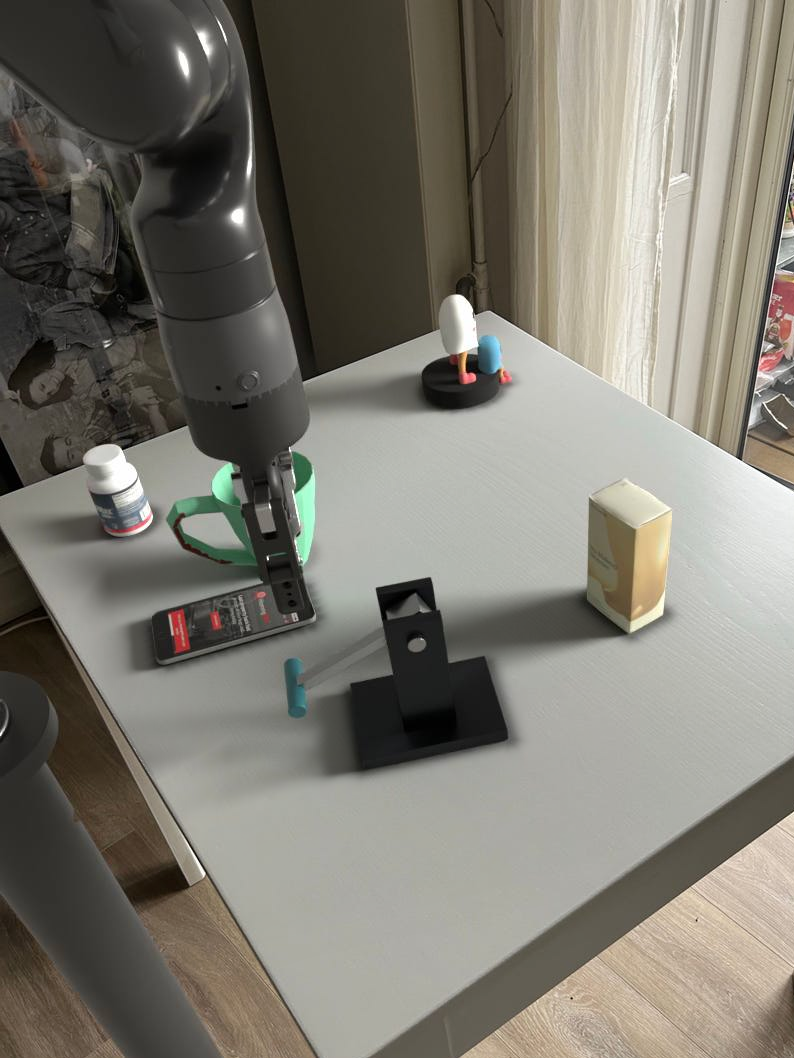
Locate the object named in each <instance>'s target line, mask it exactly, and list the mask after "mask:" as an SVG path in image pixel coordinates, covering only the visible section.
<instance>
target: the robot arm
mask: <svg viewBox="0 0 794 1058" xmlns="http://www.w3.org/2000/svg"><path fill="white" fill-rule="evenodd" d="M0 72H2V73H4V75H6V76H7V77H9V79H11V80H12V81H13V83H15V84H17V85H18V86H19V87H20V88H21V89H23V90H24V91H25V92H26V93H27V94H28V95H29V96H30V97H32V98H33V99H34V100H35V101H36V102H37V103H39V104H40V105H41V106H42V107H43V108H45V109H46V110H47V111H48V112H49V113H50V114H52V115H53V116H55V118H57V119H59V121H61V122H62V123H63V124H65V125H67V126H68V127H69V128H71V129H73V131H76V132H77V133H79V134H80V135H83V136H84V137H86V138H88V139H89V140H92V141H94V142H96V143H98V144H100V145H102V146H105V147H108V148H111V149H114V150H115V151H116V150H117V151H120V152H124V153H127V154H133V155H139V157H140V164H141V180H140V184H139V187H138V190H137V192H136V195H135V196H134V199H133V201H132V204H131V208H130V214H129V221H130V222H129V223H130V229H131V234H132V240H133V243H134V248H135V251H136V254H137V257H138V261H139V265H140V266H141V267H140V268H141V270H142V274H143V277H144V279H145V282H146V286H147V288H148V292H149V295H150V298H151V301H152V304H153V306H154V307H153V308H154V311H155V315H156V320H157V321H156V322H157V326H158V333H159V337H160V343H161V347H162V350H163V353H164V356H165V359H166V362H167V363H166V364H167V366H168V370H169V373H170V375H171V378H172V381H173V384H174V388H175V391H176V394H177V397H178V400H179V404H180V406H181V409H182V412H183V415H184V418H185V422H186V424H187V428H188V431H189V434H190V437H191V440H192V443H193V444H194V447H196V449H197V450H198V451H199V452H200V453H202V454H203V455H205V456H206V457H208V458H211V459H213V460H217V461H222V462H223V461H224V462H227V463H229V462H231V463H232V467H233V469H234V471H235V472H233V473H231V480H232V485H233V489H234V494H235V496H236V497H237V498H239V500H240V503H241V508H242V510H241V515H242V518H244V522H245V526H246V531H247V535H248V537H249V539H250V540H251V543H252V547H253V550H254V554H255V557H256V561H257V564H258V566H257V567H258V570H259V574H258V577H259V580H260V582H262V583H263V585H264V586H268V585H271V588H272V592H273V595H274V599H275V602H276V605H277V609H278V612H279V613H280V614H283V615H287V614H292V613H297V612H302V611H306V610H308V609H309V608H310V600H309V596H310V594H309V595H308V593H309V590H308V587H307V583H306V580H305V576H304V570H303V569H304V568H303V566H302V565H301V564H303V560H302V556H300V555H299V551H298V546H297V541H296V537H298V536H299V535H300V533H301V523H300V518H299V513H298V508H297V503H296V499H295V494H294V490H295V488H296V480H295V475H294V470H293V464H294V463H293V458H292V452H291V451H292V447H293V446H294V445H296V443H298V442H299V441H300V440H301V439H302V438H303V437H304V436H305V434H306V433H307V431H308V429H309V426H310V423H311V414H310V409H309V404H308V400H307V395H306V391H305V387H304V383H303V378H302V374H301V368H300V364H299V360H298V356H297V351H296V347H295V342H294V338H293V337H294V336H293V333H292V329H291V325H290V324H291V323H290V320H289V317H288V314H287V311H286V308H285V306H284V303H283V301H282V297H281V295H280V292H279V288H278V286H277V282H276V277H275V273H274V269H273V264H272V259H271V255H270V251H269V246H268V242H267V237H266V234H265V233H266V232H265V229H264V225H263V222H262V219H261V215H260V212H259V207H258V202H257V190H256V189H257V188H256V187H257V186H256V180H257V175H256V173H257V170H256V166H257V165H256V164H257V163H256V162H257V161H256V148H255V132H254V117H253V115H254V114H253V103H252V91H251V84H250V75H249V70H248V65H247V60H246V55H245V52H244V48H243V44H242V40H241V37H240V34H239V32H238V29H237V26H236V24H235V22H234V19H233V17H232V14H231V13H230V11H229V10H228V7H227V6H226V4H225V2H224V0H0ZM278 553H286V554H281V555H276V556H271V557H269V555H273V554H278ZM307 590H308V591H307ZM10 723H11V714H10V711H9V709H8V707H7V705H6V703H5V702H4V701H3V699H1V696H0V743H1V741H2V740H3V739H4V737H5V736H6V734H7V732H8V730H9V727H10Z"/></svg>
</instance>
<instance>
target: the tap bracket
mask: <svg viewBox="0 0 794 1058" xmlns="http://www.w3.org/2000/svg"><path fill="white" fill-rule="evenodd" d="M434 589H435V588H434V582H433V579H432V577H431V576H428V577H422V578H417V579H413V580H407V581H402V582H397V583H391V584H388V585H382V586H381V585H380V586H377V587H375V593H376V598H377V599H376V600H377V603H378V609H379V614H380V618H381V623H382V626H383V628H384V633H385V638H386V643H387V645H386V647H387V652H388V657H389V662H390V667H391V671H392V674H389V675H384V676H379V677H374V678H369V679H364V680H359V681H355V682H349V687H350V688H349V689H350V694H351V700H352V707H353V712H354V719H355V726H356V733H357V739H358V745H359V751H360V757H361V763H362V767H363V770H364V771H367V770H372V769H376V768H381V767H385V766H391V765H395V764H399V763H404V762H405V763H406V762H408V761H409V762H410V761H412V760H418V759H423V758H428V757H431V756H437V755H442V754H446V753H447V754H448V753H451V752H455V751H460V750H465V749H470V748H474V747H479V746H484V745H488V744H489V745H490V744H493V743H498V742H503V741H508V740H509V731H508V727H507V723H506V719H505V717H504V714H503V711H502V707H501V703H500V700H499V697H498V694H497V691H496V688H495V683H494V681H493V677H492V674H491V671H490V668H489V664H488V661H487V658H486V656H485V655H481V656H476V657H471V658H467V659H462V660H455V661H452V662H450V661H449V655H448V649H447V641H446V634H445V627H444V620H443V615H442V612H441V610H440V609H437V602H436V595H435V590H434ZM414 593H417V595H418V596H419V597H420V598H421V599H422V600H423V601H424V603H425V604H426V605H427V606H428V607H429V608H430V609H431V611H430V612H425V613H420V614H415V615H410V616H405V617H400V618H395V619H390V620H388V618H387V614H386V610H387V609H389V608H391V607H392V606H394V605H396V604H397V603H399V602H401V601H402V600H404V599H406V598H408V597H409V596H411V595H413V594H414Z"/></svg>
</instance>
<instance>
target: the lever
mask: <svg viewBox="0 0 794 1058" xmlns="http://www.w3.org/2000/svg"><path fill="white" fill-rule="evenodd" d="M430 611H431V609H430V608H429V607H428V606H427V605H426V604H425V603H424V601H423V600H422V599H421V598H420V597H419V596H418V595H417V593H414V594H413V595H411V596H409V597H408V598H406V599H404V600H402V601H401V602H399V603H397V604H396V605H394V606H392V607H391V608H389V609H387V610H386V614H387V618H388V620H390V619H395V618H400V617H405V616H410V615H415V614H420V613H425V612H430ZM385 646H387V643H386V638H385V633H384V628H383V625H381V626H380V627H378V628H376V629H374V630H373V631H371V632H370V633H368V634H366V635H364V636H363V637H361V638H359V639H357V640H356V641H354V642H352V643H351V644H349V645H347V646H345V647H344V648H342V649H340V650H339V651H337V652H335V653H334V654H332V655H330V656H328V657H327V658H325V659H324V660H322V661H320V662H318V663H317V664H315V665H313V666H311V667H310V668H308V669H307V670H305V671H303V670H304V669H303V663H302V660H301V659H299V658H297V657H290V658H287V659H286V660H285V661H284V663H283V668H284V669H283V670H284V682H285V692H286V694H285V695H286V702H287V703H286V704H287V713H288V715H289V716H290V718H293V719H301V718H303V717H305V716H306V714H307V712H308V708H307V698H306V692H307V691H309V690H311V689H313V688H315V687H316V686H318V685H320V684H322V683H324V682H325V681H326V680H328V679H330V678H332V677H333V676H335V675H337V674H339V673H340V672H342V671H344V670H346V669H348V668H349V667H351V666H353V665H355V664H356V663H357V662H359V661H361V660H362V659H364V658H366V657H368V656H369V655H371V654H373V653H375V652H377V651H378V650H380V649H381V648H383V647H385Z"/></svg>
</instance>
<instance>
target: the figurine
mask: <svg viewBox="0 0 794 1058" xmlns="http://www.w3.org/2000/svg"><path fill="white" fill-rule="evenodd" d="M476 323H477V322H476V315H475V312H474V310H473V307H472V305H471V304H470V301H468V299H466V298H465V297H464V296H463V295H462V294H450V295H449V296H447V297H445V298H444V299H443V301H442V302H441V305H440V307H439V313H438V327H439V332H440V337H441V342H442V346H443V348H444V351H445V353H446V354H448V355H447V356H443V357H440V358H438V359H435V360H433V361H431V362H430V363H428V364H426V365H425V366H424V367H423V368H422V371H421V374H420V379H421V385H422V392H423V397H424V398H425V400H426V401H427V402H429V403H430V404H431V405H433V406H435V407H439V408H442V409H449V410H452V409H455V410H457V409H466V408H472V407H476V406H479V405H481V404H485V403H487V402H488V401H491V400H493V398H494V397H496V396H497V394H498V393H499V389H500V385H504V384H506V383H510V382H512V381H513V378H512V376H511V375H510V373H509V371H507V370H504V368H505V367H504V364H503V363H502V362H503V361H502V346H501V344H500V342H499V340H498V338H497V337H496V336H494V335H491V334H486V335H483V336H481V337H480V338H479V340H478V339H477V327H476V326H477V324H476ZM474 348H476V351H477V354H475V353H468V351H469V350H471V349H474Z"/></svg>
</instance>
